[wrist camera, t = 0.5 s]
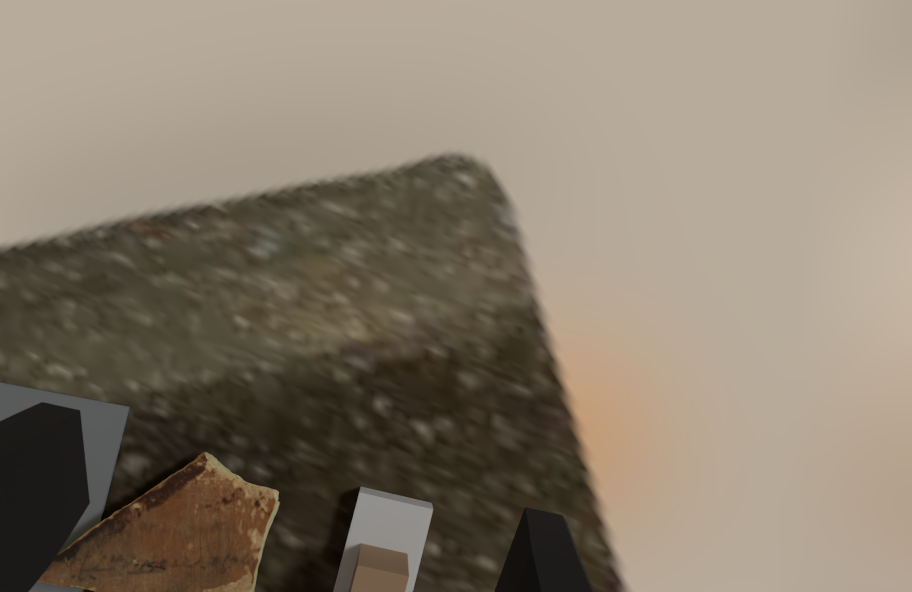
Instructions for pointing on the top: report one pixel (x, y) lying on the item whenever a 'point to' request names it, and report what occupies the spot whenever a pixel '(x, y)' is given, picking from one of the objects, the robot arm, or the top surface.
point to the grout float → (383, 543)
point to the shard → (175, 537)
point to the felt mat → (100, 449)
